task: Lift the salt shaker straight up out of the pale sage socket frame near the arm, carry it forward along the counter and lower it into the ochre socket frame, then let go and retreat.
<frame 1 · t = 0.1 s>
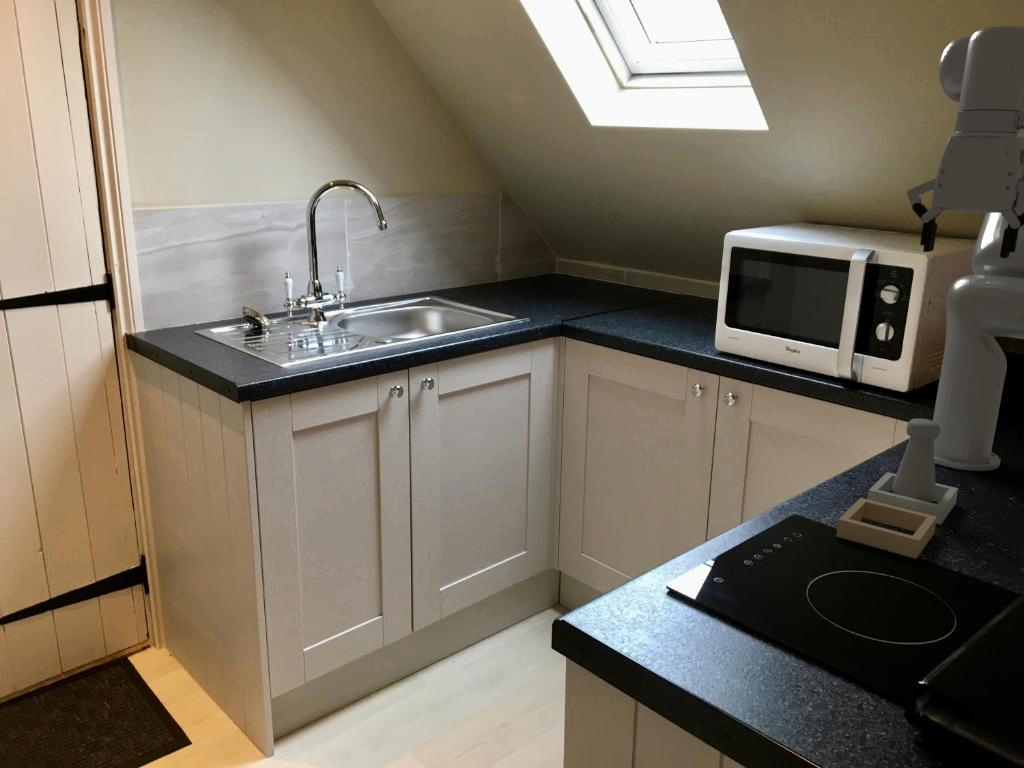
hand: (965, 254, 119), 37 cm above the worktop, tool pointing down, fingers open, 9 cm apart
salt shaker: (911, 506, 126), resting in sockets
sockets: (898, 519, 120), on the worktop
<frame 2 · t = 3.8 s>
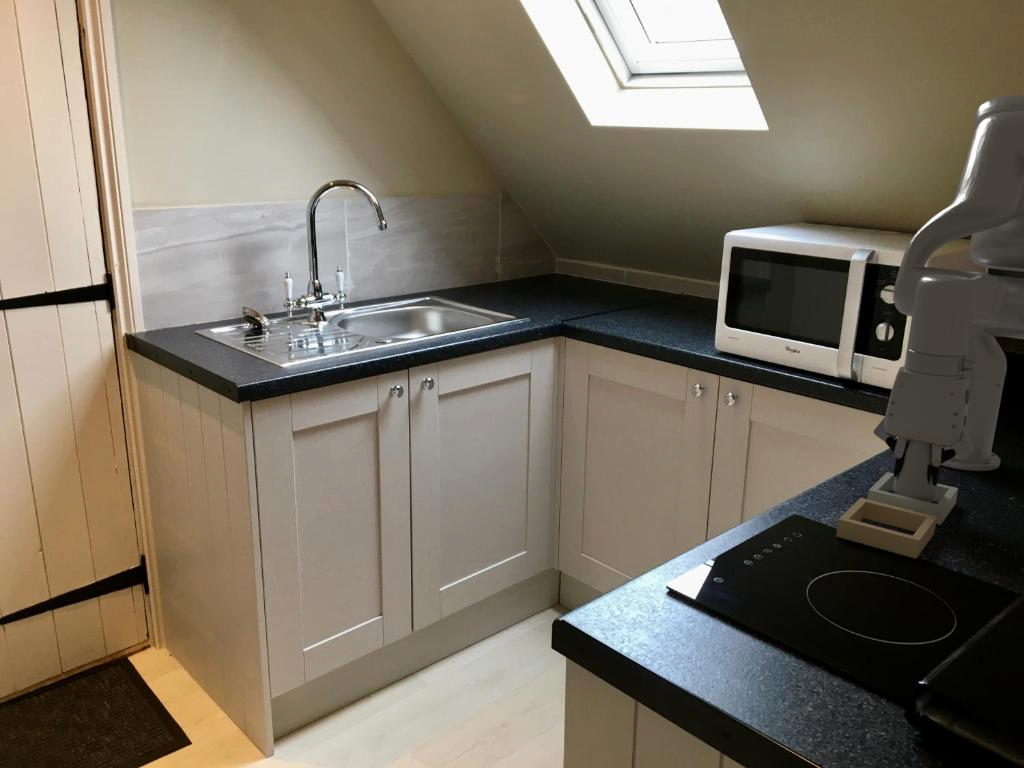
hand: (914, 484, 125), 3 cm above the worktop, tool pointing down, fingers closed on salt shaker, 3 cm apart
salt shaker: (911, 506, 126), resting in sockets, touching gripper
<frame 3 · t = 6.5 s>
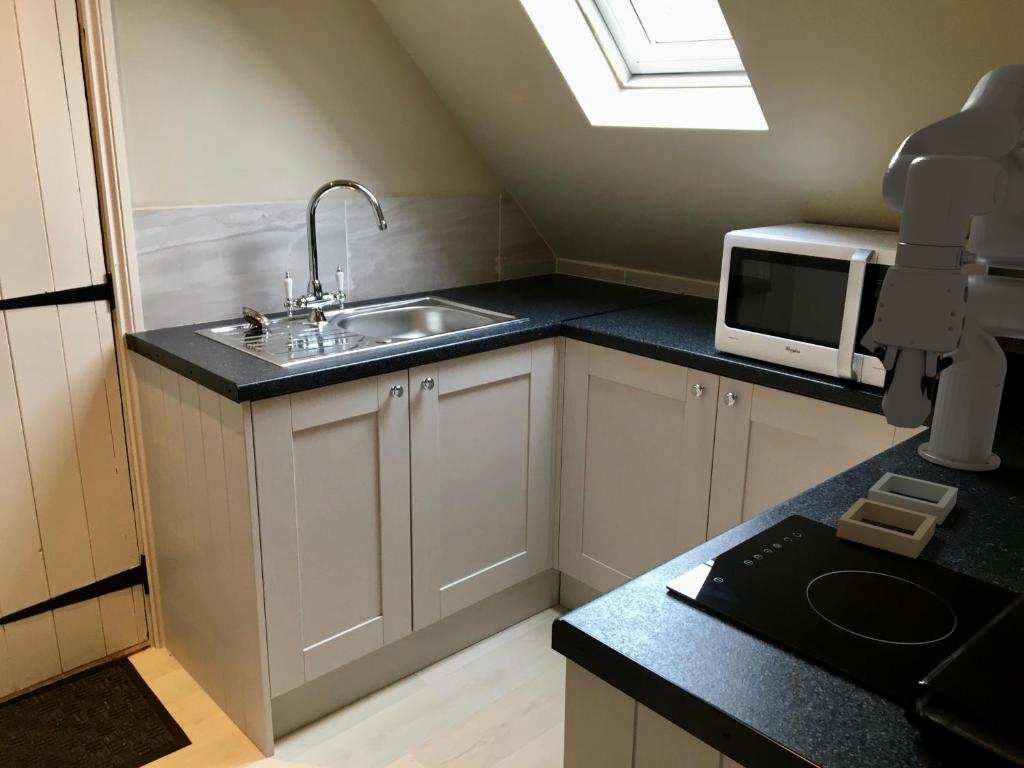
hand: (906, 400, 110), 19 cm above the worktop, tool pointing down, fingers closed on salt shaker, 3 cm apart
salt shaker: (903, 425, 111), point 15 cm above the worktop, touching gripper
when the fingers open (5 cm above the worktop, at t = 9.7 s): salt shaker drops 1 cm, resting in sockets.
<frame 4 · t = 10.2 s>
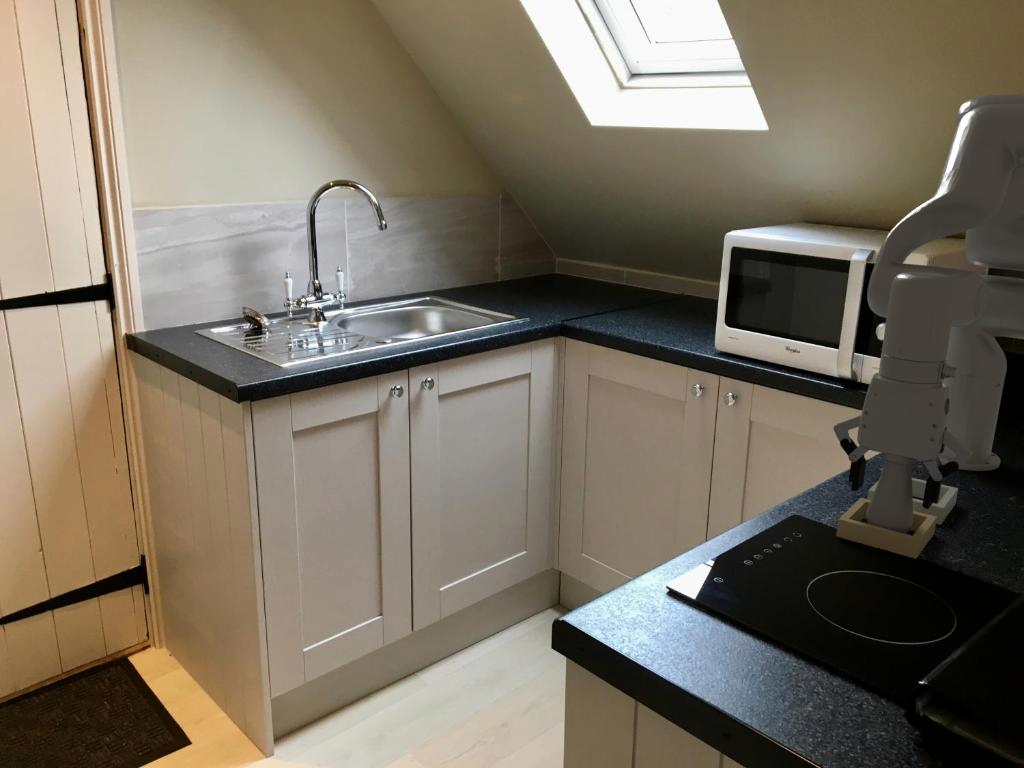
hand: (891, 496, 113), 6 cm above the worktop, tool pointing down, fingers open, 8 cm apart
salt shaker: (886, 535, 115), resting in sockets
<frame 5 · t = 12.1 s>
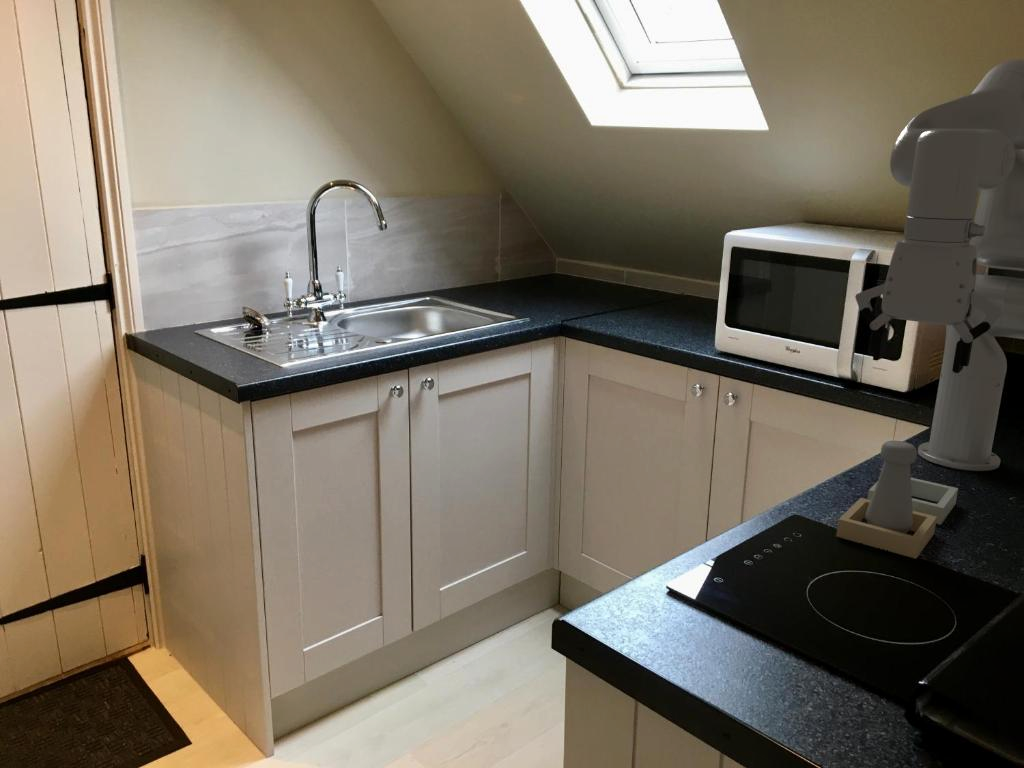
hand: (917, 364, 111), 23 cm above the worktop, tool pointing down, fingers open, 9 cm apart
nothing on the worktop moved.
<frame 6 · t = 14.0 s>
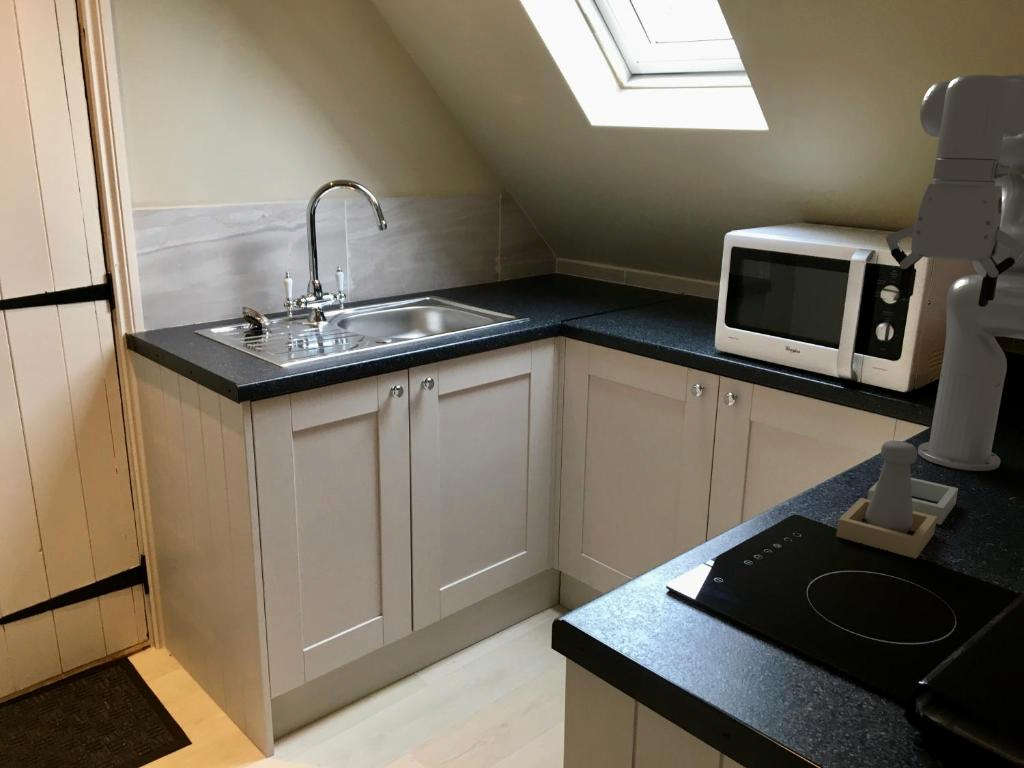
hand: (944, 301, 118), 30 cm above the worktop, tool pointing down, fingers open, 9 cm apart
nothing on the worktop moved.
at the end: salt shaker 0.2 cm from the target spot on the sockets, point 0.0 cm above the sockets's base; salt shaker tilted 0°; the gripper is holding nothing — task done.
